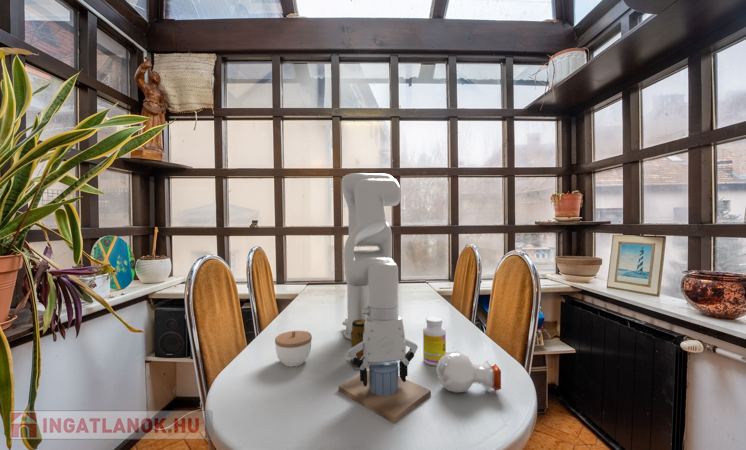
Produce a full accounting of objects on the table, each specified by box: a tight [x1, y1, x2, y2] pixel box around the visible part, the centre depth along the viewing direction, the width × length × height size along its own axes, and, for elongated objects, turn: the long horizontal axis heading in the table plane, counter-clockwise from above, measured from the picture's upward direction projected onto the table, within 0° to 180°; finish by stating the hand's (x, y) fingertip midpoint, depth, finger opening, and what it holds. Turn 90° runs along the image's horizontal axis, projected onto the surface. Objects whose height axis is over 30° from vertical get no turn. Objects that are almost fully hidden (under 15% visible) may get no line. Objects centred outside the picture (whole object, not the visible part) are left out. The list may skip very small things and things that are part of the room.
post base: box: [337, 370, 432, 423], centre depth 75 cm, size 18×14×6 cm
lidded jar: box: [274, 330, 312, 368], centre depth 92 cm, size 11×11×9 cm
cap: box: [368, 361, 399, 396], centre depth 75 cm, size 7×7×6 cm
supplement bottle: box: [422, 316, 447, 367], centre depth 92 cm, size 7×7×13 cm
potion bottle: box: [435, 350, 502, 394], centre depth 76 cm, size 9×10×15 cm
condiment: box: [345, 319, 370, 371], centre depth 92 cm, size 7×8×12 cm
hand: (383, 381), depth 75 cm, fingers open, 9 cm apart
